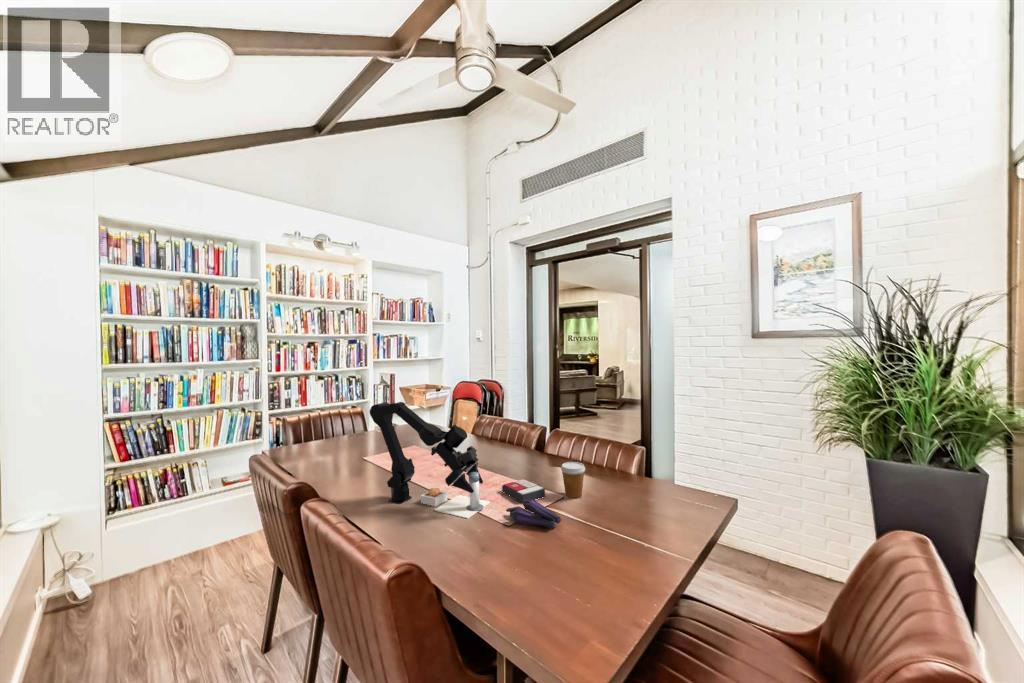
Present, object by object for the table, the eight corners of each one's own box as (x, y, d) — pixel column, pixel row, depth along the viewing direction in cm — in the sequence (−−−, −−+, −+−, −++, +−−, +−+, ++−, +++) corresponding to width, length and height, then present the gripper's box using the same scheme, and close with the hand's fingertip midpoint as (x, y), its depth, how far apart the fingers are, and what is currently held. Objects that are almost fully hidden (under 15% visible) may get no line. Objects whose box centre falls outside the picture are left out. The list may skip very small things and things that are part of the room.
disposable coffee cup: (590, 497, 157) (589, 467, 157) (569, 502, 153) (568, 470, 153) (577, 489, 166) (577, 460, 165) (557, 493, 162) (556, 463, 162)
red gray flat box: (523, 478, 171) (545, 486, 159) (524, 488, 171) (545, 497, 159) (501, 483, 165) (522, 493, 153) (502, 494, 165) (522, 504, 153)
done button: (425, 497, 156) (425, 491, 156) (433, 493, 160) (433, 487, 160) (434, 499, 154) (434, 492, 154) (442, 495, 158) (442, 488, 158)
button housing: (420, 503, 156) (420, 495, 156) (433, 496, 162) (432, 489, 162) (435, 506, 152) (435, 498, 152) (447, 499, 159) (447, 492, 159)
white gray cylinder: (467, 507, 150) (466, 473, 150) (476, 504, 152) (474, 471, 152) (473, 510, 147) (472, 476, 147) (482, 507, 150) (480, 473, 149)
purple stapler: (565, 505, 136) (517, 488, 148) (547, 522, 127) (497, 502, 139) (565, 525, 137) (518, 506, 149) (547, 543, 128) (498, 521, 140)
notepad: (434, 510, 149) (434, 509, 149) (458, 496, 162) (458, 494, 162) (469, 519, 141) (469, 517, 141) (492, 503, 154) (492, 501, 154)
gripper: (452, 448, 142) (482, 482, 139) (473, 435, 159) (500, 465, 156) (432, 469, 144) (462, 503, 141) (455, 454, 162) (481, 483, 159)
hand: (477, 487), depth 149 cm, fingers open, 9 cm apart
